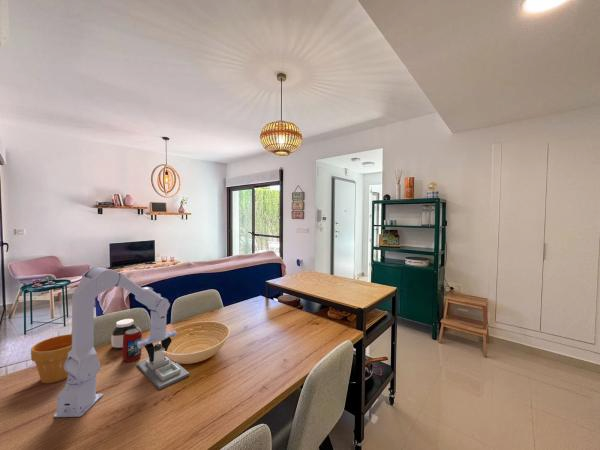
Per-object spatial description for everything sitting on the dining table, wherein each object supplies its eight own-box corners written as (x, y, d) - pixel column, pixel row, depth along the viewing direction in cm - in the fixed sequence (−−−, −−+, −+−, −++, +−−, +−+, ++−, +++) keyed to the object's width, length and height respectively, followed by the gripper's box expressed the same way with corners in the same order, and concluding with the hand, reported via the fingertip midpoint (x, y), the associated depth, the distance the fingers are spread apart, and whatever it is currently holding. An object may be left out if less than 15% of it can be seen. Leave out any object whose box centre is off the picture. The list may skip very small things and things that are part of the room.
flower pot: (34, 373, 95) (34, 340, 95) (83, 361, 104) (83, 330, 104) (26, 394, 84) (27, 356, 84) (82, 378, 93) (82, 344, 93)
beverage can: (131, 363, 103) (132, 335, 103) (118, 361, 105) (119, 333, 104) (145, 355, 110) (145, 328, 110) (132, 353, 111) (132, 326, 111)
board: (189, 375, 97) (189, 369, 97) (159, 389, 88) (159, 382, 88) (165, 355, 111) (165, 349, 111) (137, 365, 102) (137, 359, 102)
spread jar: (110, 352, 111) (111, 326, 111) (111, 342, 121) (112, 318, 120) (142, 345, 119) (143, 321, 118) (140, 336, 128) (141, 313, 127)
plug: (164, 362, 103) (165, 345, 103) (154, 367, 100) (154, 348, 100) (160, 359, 105) (160, 341, 105) (150, 363, 102) (150, 345, 102)
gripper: (172, 318, 111) (171, 348, 111) (134, 328, 99) (134, 362, 99) (179, 322, 106) (178, 354, 106) (141, 334, 95) (140, 369, 95)
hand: (157, 358), depth 103 cm, fingers closed on plug, 4 cm apart
